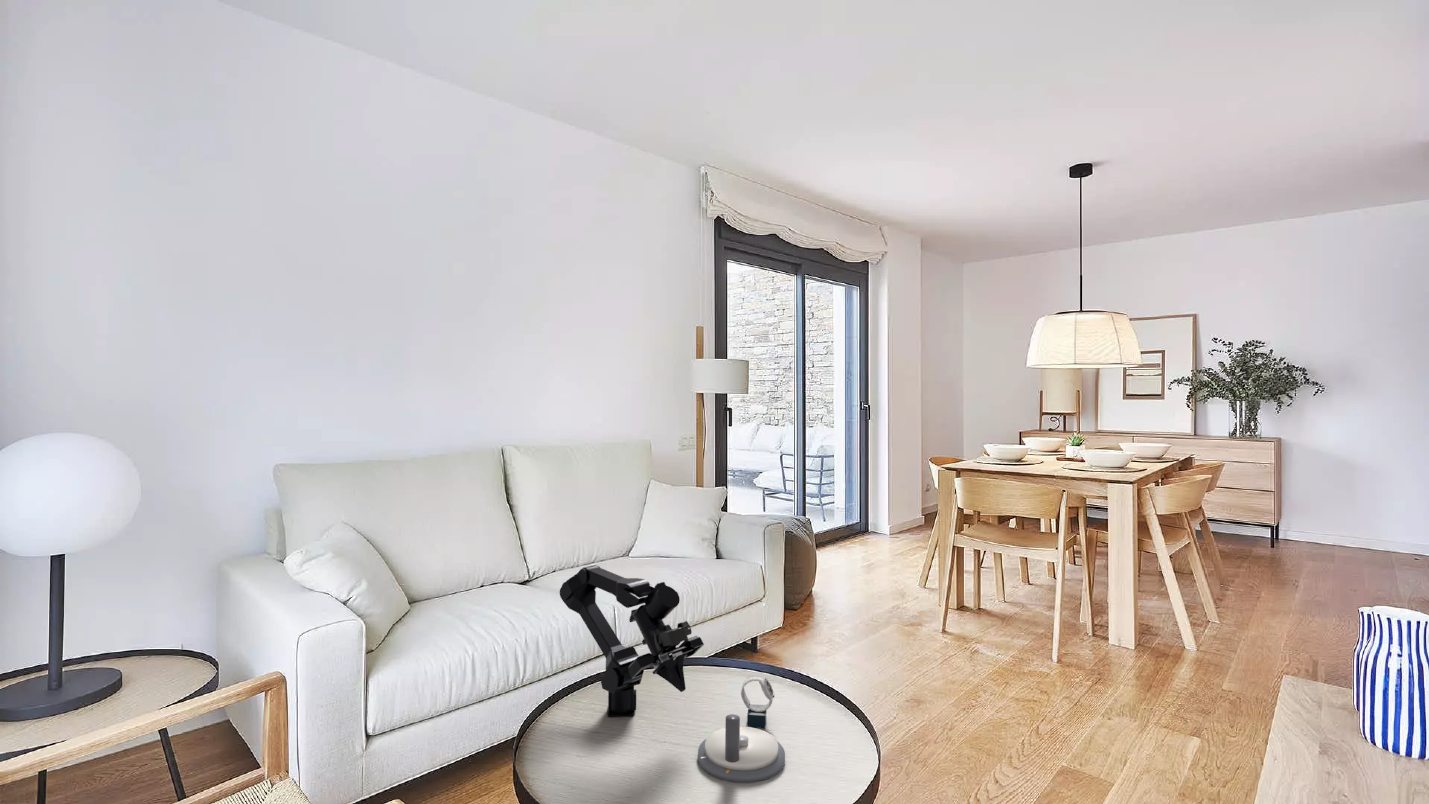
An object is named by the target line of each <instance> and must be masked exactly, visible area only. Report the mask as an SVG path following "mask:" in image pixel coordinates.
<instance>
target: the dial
mask: <svg viewBox="0 0 1429 804" xmlns="http://www.w3.org/2000/svg"><path fill="white" fill-rule="evenodd" d="M740 724H741V717H740V716H739V715H738V714H727V715H726V716H725V726H724V727H723V728H719V729H717V730H715V731H713V732H711V733H710V734H709V735H708V736H707V737H706V738H705V739H706V741H705V754H706V756H707V757H708V759H709V760H710V761H711V762H713V763H714V764H716V765H718V766H720V767H723V768H727V769H731V770H739V771H748V770H756V769H760V768H764V767H766V766H768V765H770V764H771V763H773V762H774V761H775V760H776V758H777V756H778V743H777V739H776V738H775V737H774V735H772V734H771V733H769V732H767V731H765V730H763V729H761V728H752V727H747V726H744V725H743V726H741V725H740Z"/></svg>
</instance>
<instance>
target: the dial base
mask: <svg viewBox="0 0 1429 804" xmlns="http://www.w3.org/2000/svg"><path fill="white" fill-rule="evenodd" d="M706 739H707V738H705V739H704V740H703V741H702V742H701V743H700V744H699V746H698V750H697V753H698V754H697V760H698V764H699V766H700V767H701V769H702V770H703V771H704V772H705V773H706V774H708V775H710V776H712V777H714V778H716V779H719V780H723V781H726V782H732V783H740V784H741V783H745V784H748V783H756V782H761V781H765V780H768V779H770V778H773V777H775V776H776V775H778V774H779V773H780V772H781V771H782V770H783V768H784V767H785V763H786V752H785V749H784V747H783V745H782V744H781V743H780V742H779V741H777V743H778V756H777V758H776V760H775V761H774V762H773V763H771V764H770V765H768V766H766V767H764V768H760V769H756V770H748V771H739V770H731V769H727V768H723V767H720V766H718V765H716V764H714V763H713V762H711V761H710V760H709V759H708V757H707V756H706V754H705V741H706Z"/></svg>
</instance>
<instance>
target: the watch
mask: <svg viewBox="0 0 1429 804" xmlns="http://www.w3.org/2000/svg"><path fill="white" fill-rule="evenodd" d="M751 682H759V685H760V688H761V691H762V692H763V695H764V696H765V698H766V699H768V701H769V702H767V703H766V704H756V703H755V704H753V703H751V702H750V700H749V698H748V696H747V694H746V691H745V687H746V685H747V684H749V683H751ZM740 696H741V700H742V702H743V703H744V705H745V707H746V708H747V716H746V719H747V720H746V721H747V722H746V723H747V724H746V727H752V728H757V729H762V730H763V729H766V726H767V712H768V711H767V710H768V709H769V708H771V706H772V704H773V700H774V698H775V692H774V689H773V686H772V684H771V682H770V681H769V680H768V678H766V677H763V676H760V675H752V676H749V677H747V678H746V679H745V680H744V681H743V683H742V687H741V691H740Z"/></svg>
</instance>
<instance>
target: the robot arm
mask: <svg viewBox="0 0 1429 804" xmlns="http://www.w3.org/2000/svg"><path fill="white" fill-rule="evenodd" d="M596 589H599V590H602V591H604V592H607V593H609V594H611V595H613V596H614V597H615V600H616V602H618V603H619V604H620V605H622V606H623V607H625V608H626V609H630V608H633V607H637V606H639V607H637V608H635V609H632V610H631V612H630V616H629V620H628V621H629V623H633V622H636V625H637V626H638V629H639V631H640V633H641V635H642V637H643V639H642V640H641V643H642V645H643V646H645V645H646V646H647V648H648V650H649V652H647V653H645V654H642V655H639V653H638V652H637V650H636V647H634V646H633V645H631V646H628V647H625V646H624V645H623V644H622V643H621V641H620V639H619V638H618V636H617V633H616V632H615V631H614V630H613V627H611V625H610V623H609V622H608V620H607V618H606V617H605V615H604V614H603V612H602V611H601V609H600V607H599V605H598V604H597V603H596V596H597V592H596ZM559 597H560V599H561V600H562V602H563V603H564V604H565V605H566V607H567V608H568V609H569V610H571V611H573V612H575V613H576V614H578V615H579V616H580V617H581V620H582V621H583V622H584V624H585V626H586V628H587V629H588V630H589V633H590V634H591V636H592V638H593V639H594V640H595V642H596V644H597V646H598V648H599V650H600V651H601V652H602V654H603V656H604V658H605V672H606V673H605V675H604V676H603V677H602V678H601V679H600V682H601V688H602V689H603V690H605V691H606V692H607V693H608V701H607V702H608V703H607V704H608V705H607V713H606V714H607V717H609V718H610V717H611V718H612V717H632V716H635V711H637V689H636V688H635V686H637V685H640V684H641V682H642V679H643V674H644V671H645V669H647V668H651V667H653V668H654V670H653V671H652V674H653V675H657V676H659V677H661V678H662V679H664V680H665V681H667V682H668V683H669V684H670V685H672V686H673V687H674V688H675V689H677V690H678V691H679V692H681V693H682V692H685V690H686V682H685V674H684V661H685V659H687V658H690V657H693V656H694V655H695V654H696V653H697V652H698V651H699V650H700V649H702V647H704V645H705V643H704V642H703V639H702V637H700V636H698V635H694V636H691V637H688V636H690V635H692V632H693V631H692V627H691V625H690V624H689V622H688V620H685V621H681V622H678V623H677V627H676V628H672V627H671V625H670V624H665V621H664V619H666V618H667V617H668V615H670V614H671V613H672V612H673V610H675V608H677V607H678V605H679V604H680V595H679V593H678V591H677V590H675V589H674V588H673V587H671V586H669V585H666V582H665V581H660V582H657V583H656V584H655V586H654V585H652V584H650V582H649V581H648V580H647V579H645V578H637V577H636V578H634V577H631V578H628V577H627V578H626V577H624V576H621V575H618V574H616V573H614V572H611V571H608V570H606V569H604V568H602V567H600V566H599V565H597V564H595V565H588V566H585V567H582V568H581V569H580V570H579V571H578V572H577V573H576V574H574V575H573V576H572V577H569V578H568V579H567V580H566V581H565V582H562V585H561V587H560V588H559Z"/></svg>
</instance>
